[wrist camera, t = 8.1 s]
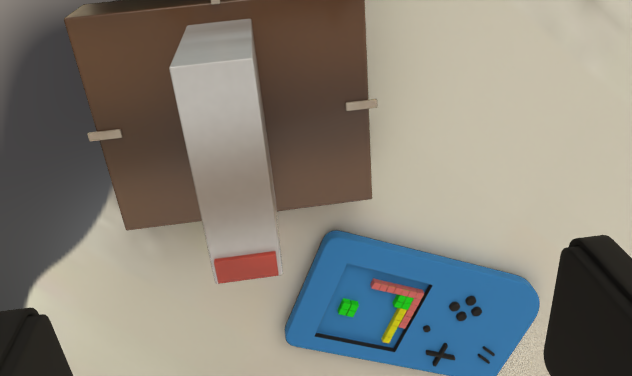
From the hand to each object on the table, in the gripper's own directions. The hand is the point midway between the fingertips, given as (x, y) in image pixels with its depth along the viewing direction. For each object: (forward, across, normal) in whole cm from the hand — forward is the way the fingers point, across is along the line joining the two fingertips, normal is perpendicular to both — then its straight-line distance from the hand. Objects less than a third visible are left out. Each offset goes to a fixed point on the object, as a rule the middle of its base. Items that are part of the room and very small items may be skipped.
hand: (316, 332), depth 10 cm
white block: (+15, +2, +2) cm, 16 cm away
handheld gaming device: (+18, -7, +17) cm, 26 cm away
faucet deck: (+18, +2, +2) cm, 19 cm away
